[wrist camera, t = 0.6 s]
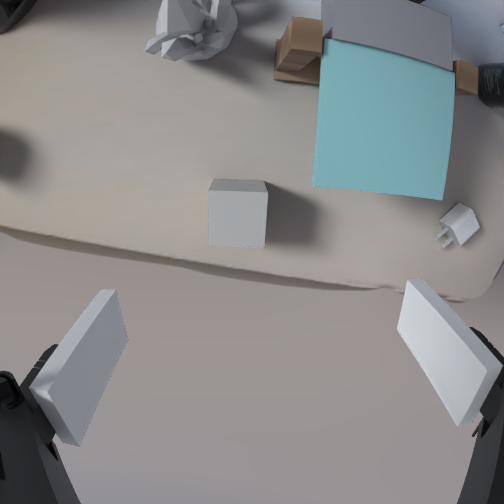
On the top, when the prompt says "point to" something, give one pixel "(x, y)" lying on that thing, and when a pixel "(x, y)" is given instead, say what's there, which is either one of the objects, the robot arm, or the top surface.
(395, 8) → the trapdoor
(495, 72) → the supplement bottle
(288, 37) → the stand
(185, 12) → the crystal
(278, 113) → the top surface
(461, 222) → the usb wall charger
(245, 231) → the plain grey cube
